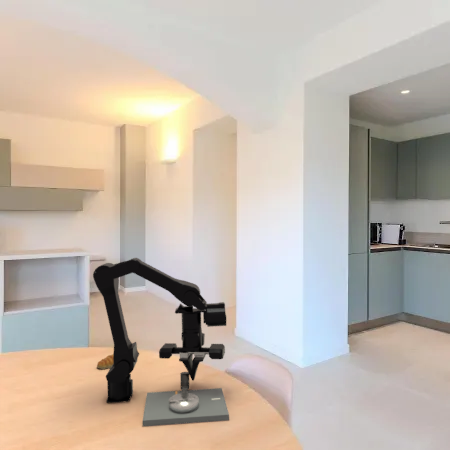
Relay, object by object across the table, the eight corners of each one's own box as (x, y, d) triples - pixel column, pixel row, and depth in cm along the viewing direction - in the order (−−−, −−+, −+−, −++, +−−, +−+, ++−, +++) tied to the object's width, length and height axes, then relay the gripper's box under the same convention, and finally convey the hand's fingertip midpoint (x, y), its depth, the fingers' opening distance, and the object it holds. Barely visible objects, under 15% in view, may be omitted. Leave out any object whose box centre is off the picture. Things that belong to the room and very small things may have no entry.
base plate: (142, 426, 99) (142, 419, 99) (147, 397, 115) (147, 391, 115) (229, 420, 102) (229, 413, 102) (221, 392, 117) (221, 387, 117)
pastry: (102, 372, 134) (102, 361, 134) (93, 367, 139) (93, 356, 139) (126, 364, 141) (126, 354, 141) (116, 360, 146) (116, 350, 146)
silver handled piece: (198, 412, 102) (198, 394, 102) (167, 413, 102) (167, 395, 102) (198, 386, 118) (198, 371, 118) (171, 387, 117) (171, 372, 117)
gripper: (226, 320, 122) (227, 370, 123) (168, 320, 125) (169, 369, 125) (221, 330, 111) (223, 385, 112) (157, 330, 114) (159, 383, 114)
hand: (193, 379), depth 116 cm, fingers closed
